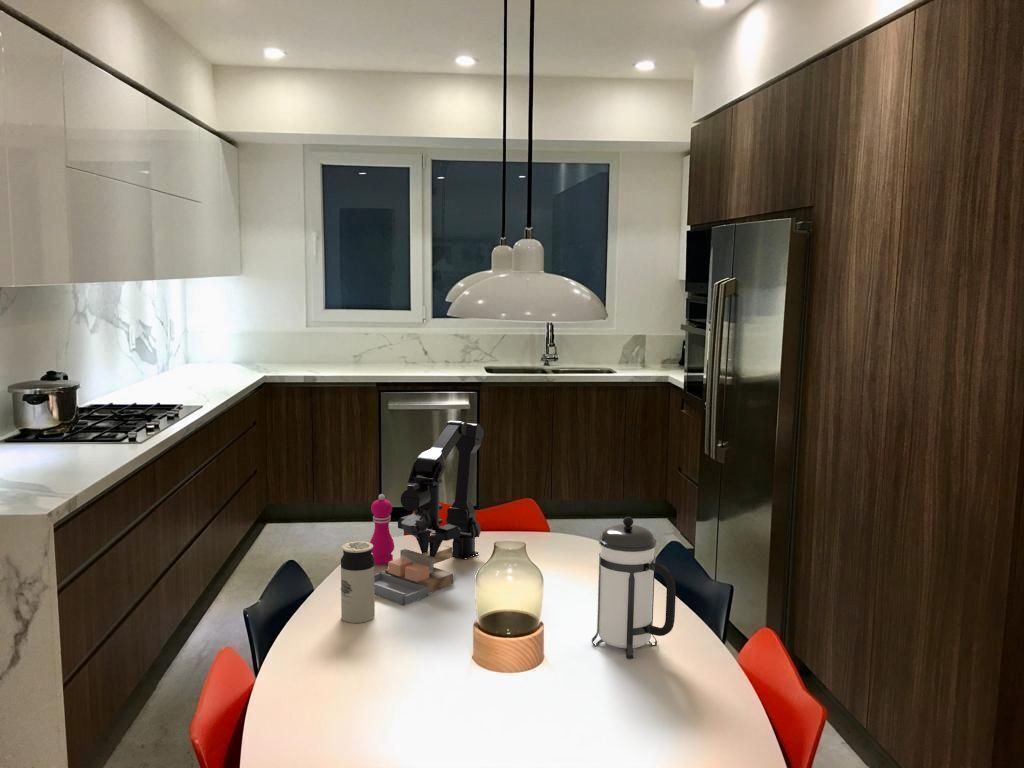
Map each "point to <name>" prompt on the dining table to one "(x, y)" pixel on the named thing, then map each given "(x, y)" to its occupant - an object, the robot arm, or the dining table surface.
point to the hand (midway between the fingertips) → (428, 557)
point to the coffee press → (630, 588)
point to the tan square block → (398, 566)
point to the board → (432, 579)
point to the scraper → (427, 556)
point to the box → (398, 589)
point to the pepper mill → (382, 532)
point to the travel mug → (357, 582)
